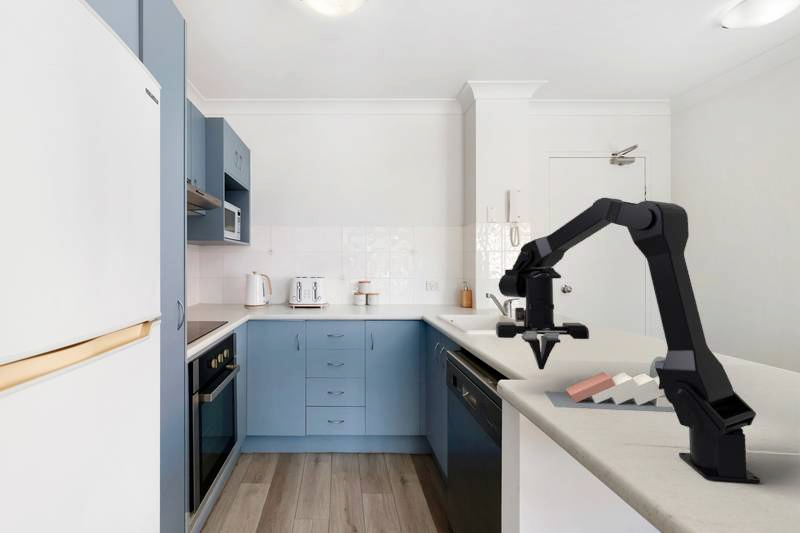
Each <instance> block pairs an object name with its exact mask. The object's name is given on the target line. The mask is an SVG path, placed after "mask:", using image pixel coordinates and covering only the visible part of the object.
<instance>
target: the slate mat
mask: <svg viewBox="0 0 800 533" xmlns="http://www.w3.org/2000/svg"><path fill="white" fill-rule="evenodd" d="M543 392H544V393H545V395H546V396H547V398H548V399H549V401H550V402H551V404H552V405H553V407H555V408H565V409H566V408H567V409H568V408H570V409H573V408H574V409H590V410H592V409H593V410H613V411H635V412H655V413H656V412H657V413H676V412H675V410H674V407H658V406H656V405H655V404H653V403H652V402H650V401H648V402H645V403H643V404H641V405H637V404H635V403H634V402H633V401H631V400H630V399H629V400H627V401H624V402H622V403H619V404H617V405H616V404H615V403H614V402H613V401H611V400H610V399H609V398H608V399H606V400H603V401H601V402H599V403H595V402H594V401H593V400H591V399H590V398H589V397H588V398H586V399H583V400H581V401H579V402H576V403H575V402H574V401H573V400H572V399H571V398H570V397H569V395H568V393H567V392H566V391H550V390H548V391H546V390H544V391H543Z"/></svg>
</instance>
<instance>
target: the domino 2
mask: <svg viewBox="0 0 800 533" xmlns="http://www.w3.org/2000/svg"><path fill="white" fill-rule="evenodd" d="M611 378H612V380H613V382H614V383H615V385H616V386H613V387H611V388H609V389H606V390H604V391H602V392H599V393H597V394H595V395H592V396H590V397H589V398H590V399H591V400H593V401H594V402H595V403H599V402H601V401H603V400H606V399H608V398H611V397H613V396H615V395H618V394H620V393H622V392H625V391H627V390H629V389H632V388H634V387H636V386H637V385H636V383H635V381H634V379H633V377H631V376H630V375H629V374H627V373H625V371H624V372H621V373H618V374H616V375H614V376H612V377H611Z"/></svg>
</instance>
